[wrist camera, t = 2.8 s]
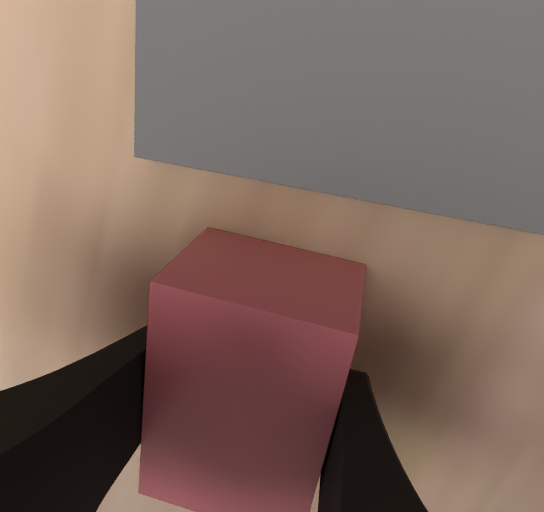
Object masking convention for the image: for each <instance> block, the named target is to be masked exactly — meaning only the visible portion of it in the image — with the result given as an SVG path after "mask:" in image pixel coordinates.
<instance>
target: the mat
mask: <svg viewBox="0 0 544 512" xmlns="http://www.w3.org/2000/svg"><path fill="white" fill-rule="evenodd" d="M134 157H138V158H143V159H148V160H153V161H159V162H164V163H169V164H174V165H179V166H185V167H190V168H195V169H200V170H206V171H211V172H216V173H221V174H227V175H232V176H237V177H242V178H248V179H253V180H258V181H263V182H268V183H274V184H279V185H284V186H289V187H295V188H300V189H305V190H310V191H316V192H321V193H326V194H331V195H337V196H342V197H347V198H352V199H358V200H363V201H368V202H373V203H378V204H384V205H389V206H394V207H399V208H405V209H410V210H415V211H420V212H426V213H431V214H436V215H441V216H447V217H452V218H457V219H462V220H467V221H473V222H478V223H483V224H488V225H494V226H499V227H504V228H509V229H515V230H520V231H525V232H530V233H536V234H541V235H544V0H136V44H135V143H134Z"/></svg>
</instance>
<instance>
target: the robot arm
mask: <svg viewBox="0 0 544 512" xmlns="http://www.w3.org/2000/svg"><path fill="white" fill-rule="evenodd" d="M147 326H148V325H147ZM147 326H145V327H143V328H141V329H139V330H137V331H135V332H134V333H132V334H130V335H128V336H126V337H124V338H122V339H121V340H119V341H117V342H115V343H113V344H111V345H109V346H107V347H105V348H103V349H101V350H99V351H97V352H95V353H93V354H91V355H89V356H87V357H85V358H83V359H80V360H78V361H76V362H74V363H72V364H70V365H67V366H65V367H63V368H61V369H59V370H56V371H54V372H52V373H49V374H47V375H44V376H42V377H39V378H36V379H34V380H31V381H28V382H25V383H23V384H20V385H17V386H14V387H11V388H8V389H5V390H2V391H0V512H96V511H97V509H98V507H99V505H100V503H101V502H102V500H103V499H104V497H105V495H106V494H107V492H108V491H109V489H110V487H111V486H112V484H113V483H114V481H115V480H116V479H117V477H118V476H119V474H120V473H121V471H122V470H123V468H124V467H125V465H126V464H127V462H128V461H129V459H130V458H131V456H132V455H133V453H134V452H135V451H136V449H137V448H138V446H139V445H140V443H141V436H142V417H143V399H144V381H145V362H146V344H147ZM318 512H428V511H427V509H426V508H425V506H424V504H423V503H422V501H421V499H420V498H419V496H418V494H417V493H416V491H415V489H414V487H413V486H412V484H411V482H410V480H409V478H408V476H407V474H406V473H405V471H404V469H403V467H402V465H401V463H400V460H399V458H398V456H397V454H396V452H395V450H394V448H393V446H392V443H391V441H390V439H389V436H388V434H387V431H386V429H385V426H384V424H383V421H382V419H381V416H380V413H379V411H378V408H377V405H376V402H375V399H374V395H373V392H372V388H371V384H370V380H369V377H368V375H367V374H366V373H364V372H360V371H356V370H352V369H349V373H348V377H347V380H346V384H345V387H344V391H343V394H342V398H341V401H340V405H339V408H338V412H337V416H336V419H335V423H334V426H333V430H332V433H331V437H330V440H329V444H328V448H327V451H326V455H325V458H324V462H323V465H322V469H321V475H320V489H319V503H318Z"/></svg>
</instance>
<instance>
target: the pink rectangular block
mask: <svg viewBox="0 0 544 512" xmlns="http://www.w3.org/2000/svg"><path fill="white" fill-rule="evenodd" d="M365 271H366V265H365V264H361V263H357V262H353V261H348V260H344V259H340V258H336V257H332V256H327V255H323V254H319V253H315V252H310V251H306V250H302V249H298V248H293V247H289V246H285V245H281V244H276V243H272V242H268V241H264V240H259V239H255V238H251V237H247V236H242V235H238V234H234V233H230V232H225V231H221V230H217V229H213V228H208V227H207V228H206V229H205V230H204V231H203V232H202V233H201V234H200V235H199V236H198V237H197V238H196V239H195V240H194V241H193V242H191V243H190V244H189V245H188V246H187V247H186V248H185V249H184V250H183V251H182V252H181V253H180V254H179V255H178V256H177V257H176V258H174V259H173V260H172V261H171V262H170V263H169V264H168V265H167V266H166V267H165V268H164V269H163V270H162V271H161V272H160V273H159V274H157V275H156V276H155V277H154V278H153V279H152V280H151V281H150V289H149V307H148V326H147V344H146V362H145V381H144V399H143V417H142V436H141V454H140V473H139V491H138V493H140V494H143V495H146V496H149V497H152V498H155V499H158V500H161V501H164V502H168V503H171V504H174V505H177V506H180V507H183V508H186V509H189V510H192V511H195V512H310V508H311V504H312V501H313V497H314V494H315V490H316V487H317V483H318V480H319V476H320V472H321V469H322V465H323V462H324V458H325V455H326V451H327V448H328V444H329V440H330V437H331V433H332V430H333V426H334V423H335V419H336V416H337V412H338V408H339V405H340V401H341V398H342V394H343V391H344V387H345V384H346V380H347V377H348V373H349V369H350V366H351V362H352V359H353V355H354V352H355V348H356V345H357V341H358V337H359V331H360V321H361V311H362V301H363V291H364V281H365Z"/></svg>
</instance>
